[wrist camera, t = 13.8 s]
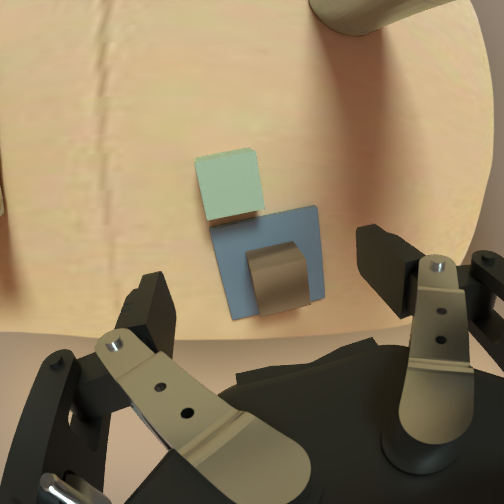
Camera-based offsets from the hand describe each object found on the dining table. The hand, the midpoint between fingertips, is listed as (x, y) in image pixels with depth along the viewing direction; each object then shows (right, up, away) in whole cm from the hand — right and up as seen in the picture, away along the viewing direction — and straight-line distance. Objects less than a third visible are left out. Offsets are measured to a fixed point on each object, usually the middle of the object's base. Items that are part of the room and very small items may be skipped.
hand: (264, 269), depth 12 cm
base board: (+2, -1, +24) cm, 25 cm away
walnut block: (+2, -1, +24) cm, 24 cm away
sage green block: (-3, +9, +20) cm, 22 cm away
